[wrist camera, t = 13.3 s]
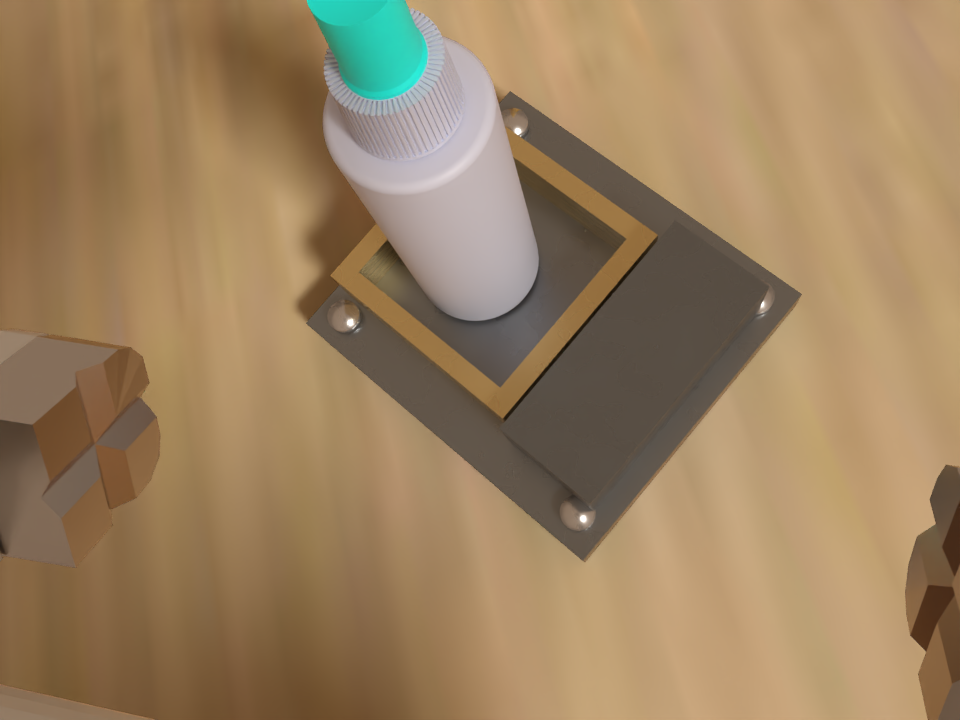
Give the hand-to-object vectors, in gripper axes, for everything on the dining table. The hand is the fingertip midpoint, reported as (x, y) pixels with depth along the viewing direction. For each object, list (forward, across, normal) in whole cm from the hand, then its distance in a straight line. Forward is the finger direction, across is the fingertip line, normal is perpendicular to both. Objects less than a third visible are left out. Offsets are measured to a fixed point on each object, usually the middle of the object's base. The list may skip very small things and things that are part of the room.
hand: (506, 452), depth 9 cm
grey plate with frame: (+33, -4, -17) cm, 37 cm away
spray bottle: (+33, -8, -14) cm, 37 cm away
